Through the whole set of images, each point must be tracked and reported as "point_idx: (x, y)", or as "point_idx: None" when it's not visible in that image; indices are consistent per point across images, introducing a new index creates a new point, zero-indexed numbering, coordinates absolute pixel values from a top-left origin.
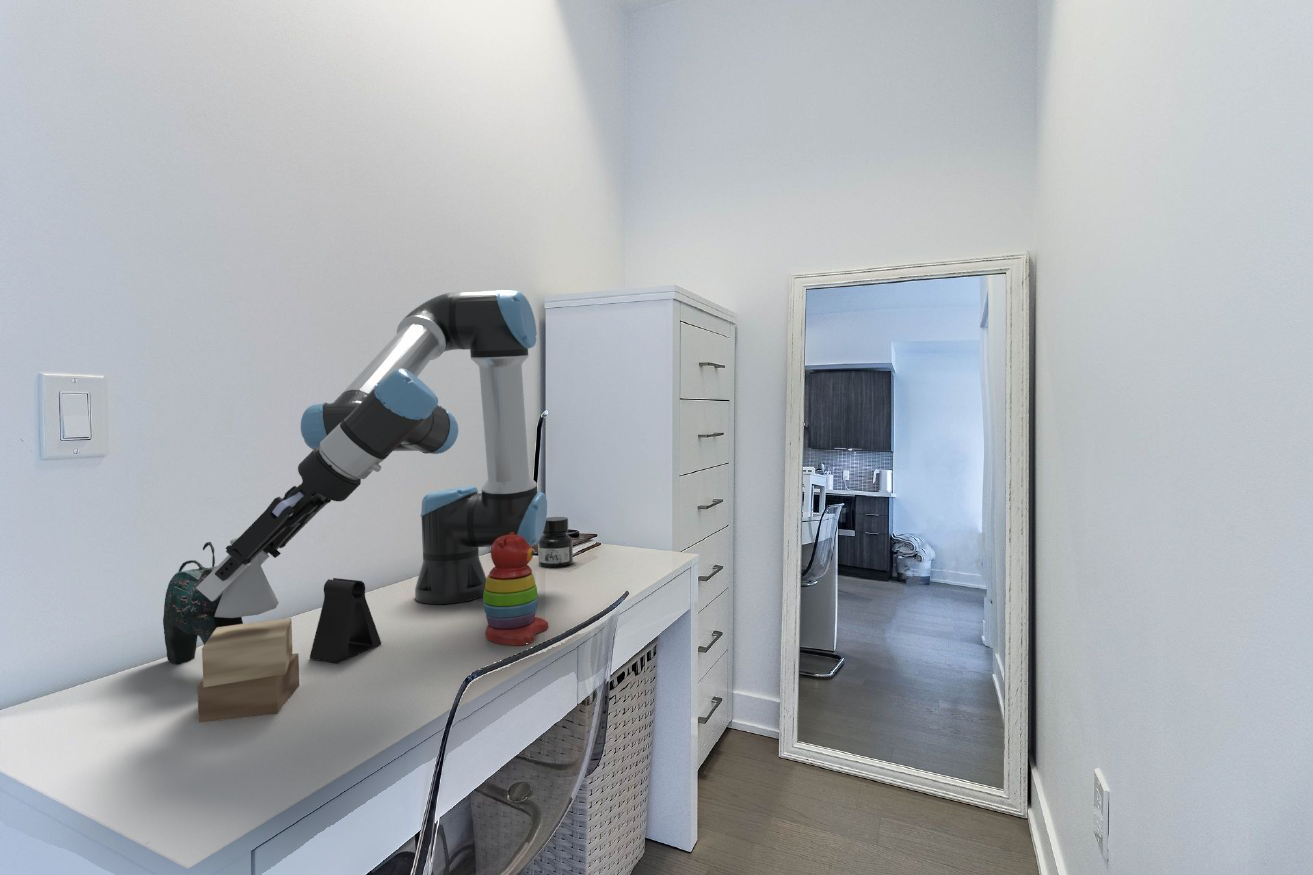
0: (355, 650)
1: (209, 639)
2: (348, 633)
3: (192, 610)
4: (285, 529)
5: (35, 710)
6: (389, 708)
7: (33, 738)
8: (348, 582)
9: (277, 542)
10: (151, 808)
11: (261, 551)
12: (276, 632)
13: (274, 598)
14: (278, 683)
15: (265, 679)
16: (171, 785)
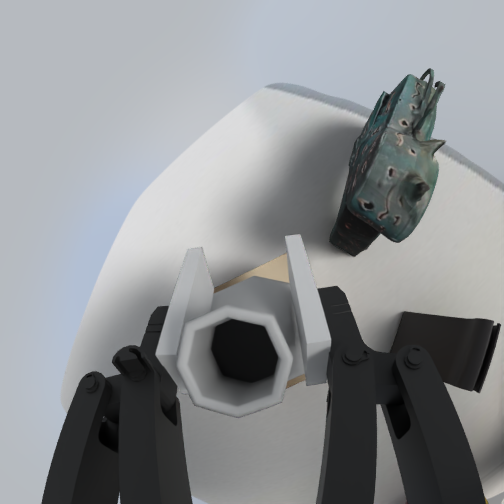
0: None
1: (222, 286)
2: None
3: (351, 158)
4: (317, 498)
5: (254, 108)
6: (245, 477)
7: (195, 155)
8: (475, 376)
9: (325, 434)
10: (88, 353)
11: (313, 369)
12: None
13: (288, 379)
14: None
15: None
16: (110, 350)
